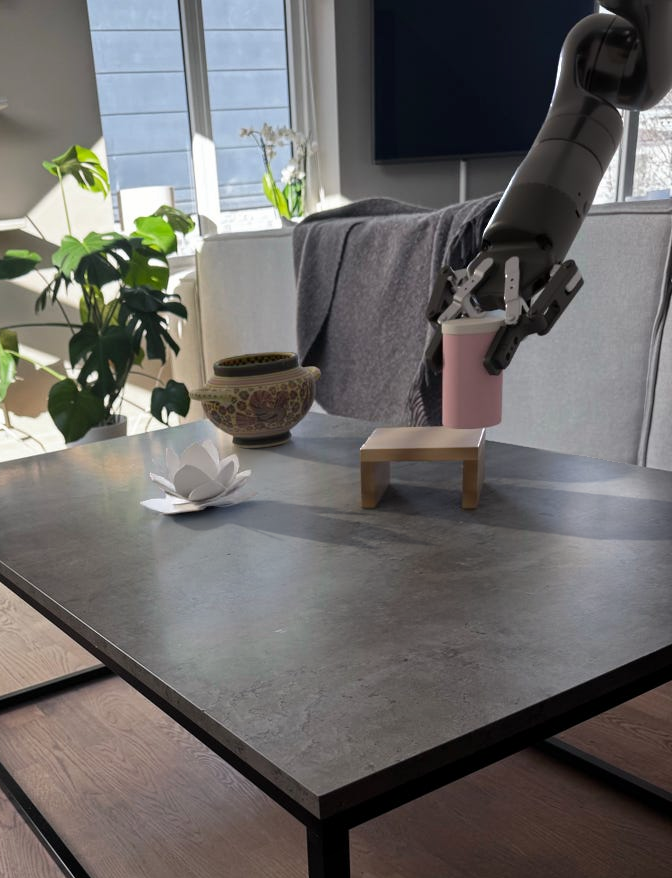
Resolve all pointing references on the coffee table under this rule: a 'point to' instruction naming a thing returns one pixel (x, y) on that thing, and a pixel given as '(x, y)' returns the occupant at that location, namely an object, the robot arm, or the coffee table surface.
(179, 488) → the lotus flower
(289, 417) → the ceramic bowl
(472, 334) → the tube
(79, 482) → the coffee table surface
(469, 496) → the shelf stand
